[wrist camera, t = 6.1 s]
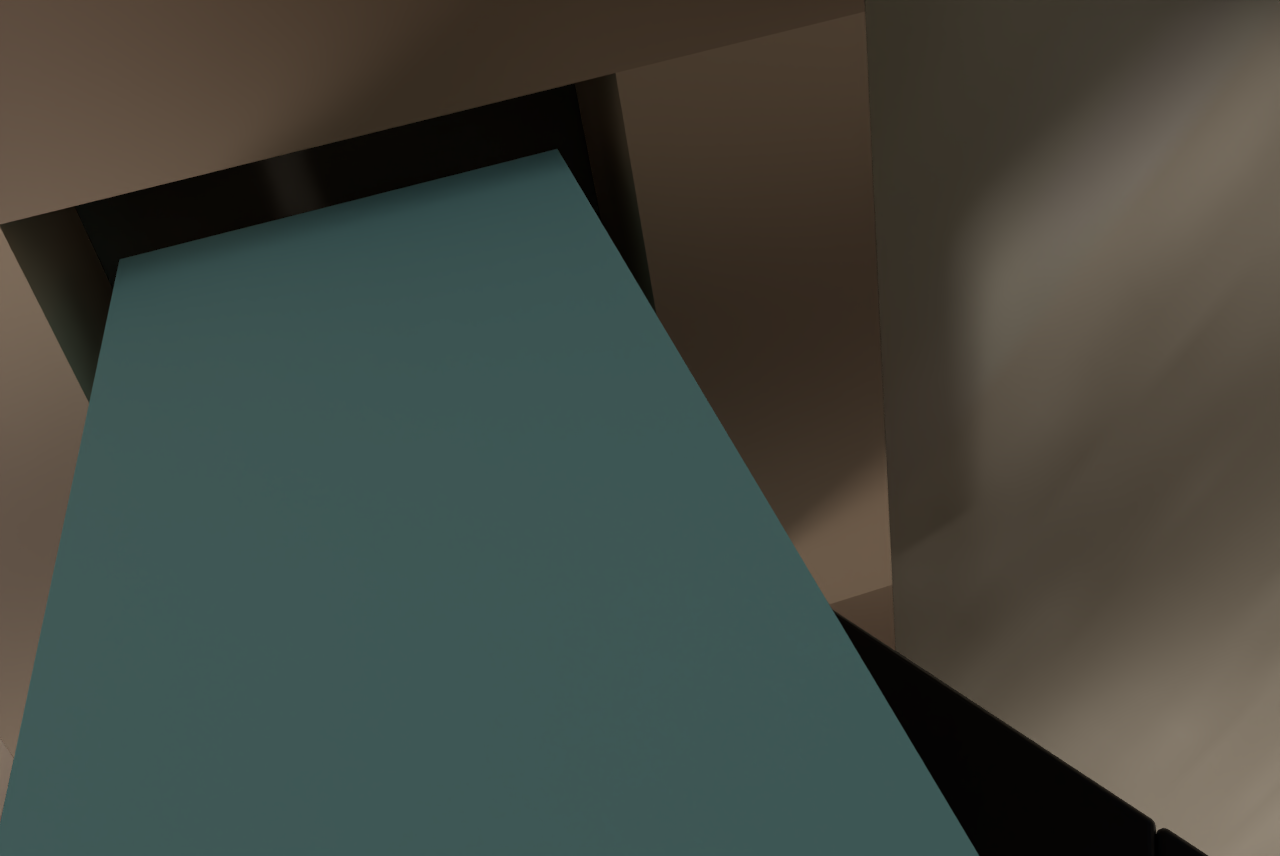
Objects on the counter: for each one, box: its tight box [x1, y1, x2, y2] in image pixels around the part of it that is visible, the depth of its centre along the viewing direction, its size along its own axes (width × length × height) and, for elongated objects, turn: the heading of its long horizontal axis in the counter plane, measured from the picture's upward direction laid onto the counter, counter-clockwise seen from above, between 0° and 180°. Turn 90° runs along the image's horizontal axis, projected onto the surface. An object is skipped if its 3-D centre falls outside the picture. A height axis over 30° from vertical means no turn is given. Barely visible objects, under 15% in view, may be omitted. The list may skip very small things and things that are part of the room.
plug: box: [0, 149, 979, 856], centre depth 8 cm, size 5×4×8 cm
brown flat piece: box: [0, 0, 896, 758], centre depth 11 cm, size 10×8×2 cm
